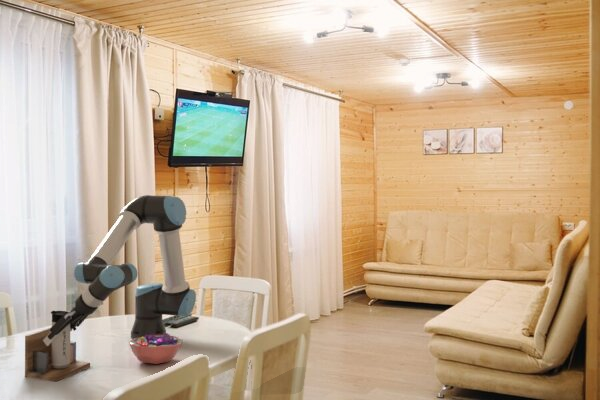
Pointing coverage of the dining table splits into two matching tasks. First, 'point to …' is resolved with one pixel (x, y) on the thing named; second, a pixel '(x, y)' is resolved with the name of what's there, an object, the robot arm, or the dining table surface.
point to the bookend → (39, 362)
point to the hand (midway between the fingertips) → (52, 340)
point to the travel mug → (60, 344)
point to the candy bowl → (155, 348)
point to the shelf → (37, 343)
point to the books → (72, 351)
